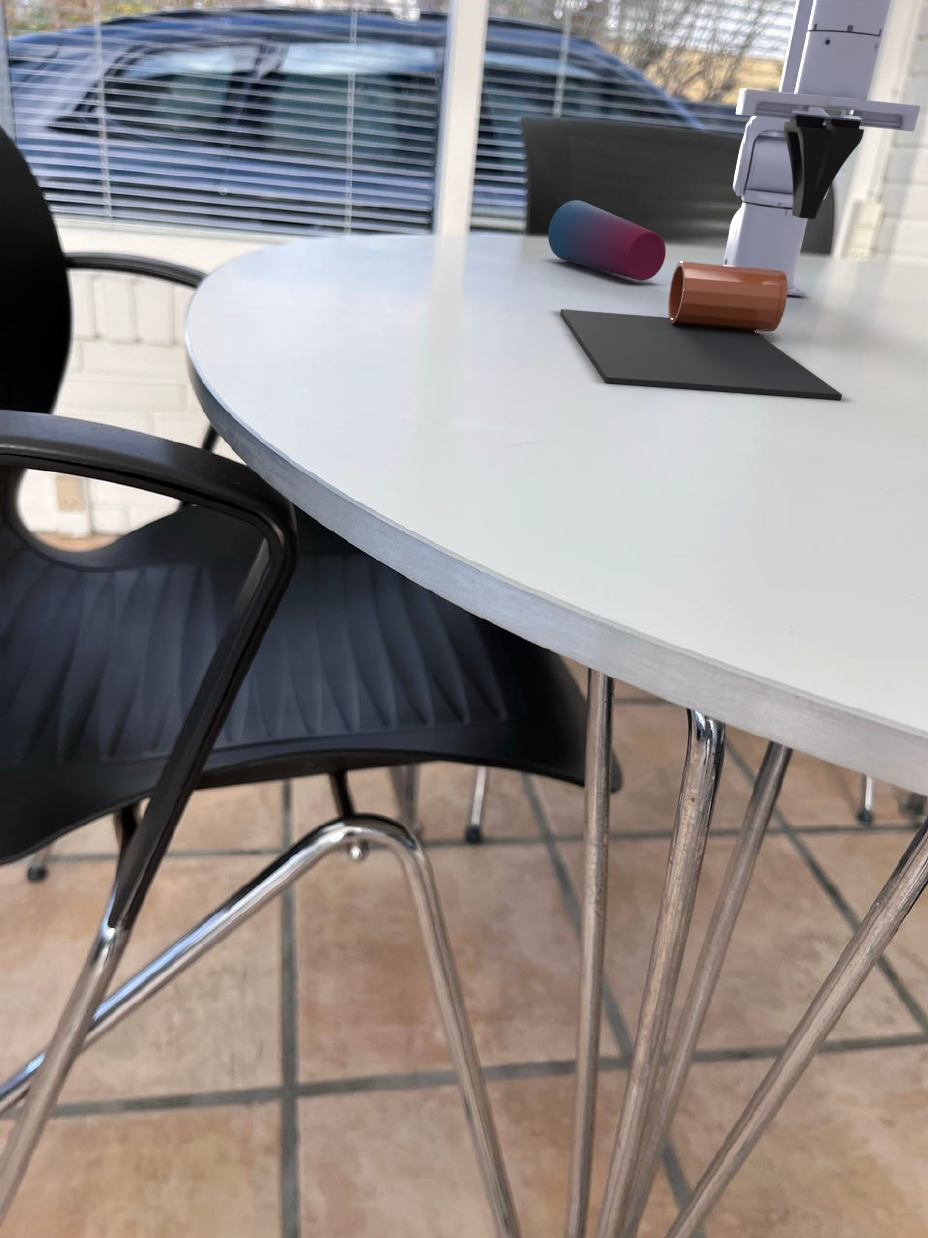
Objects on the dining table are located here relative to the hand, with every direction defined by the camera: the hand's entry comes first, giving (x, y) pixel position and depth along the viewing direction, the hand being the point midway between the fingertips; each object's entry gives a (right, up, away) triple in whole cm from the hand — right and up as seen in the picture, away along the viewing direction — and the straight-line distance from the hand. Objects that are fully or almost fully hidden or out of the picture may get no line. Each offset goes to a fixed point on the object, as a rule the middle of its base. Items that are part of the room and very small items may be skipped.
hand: (803, 217), depth 87 cm
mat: (-11, -13, -5) cm, 18 cm away
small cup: (-2, -6, +3) cm, 7 cm away
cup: (-9, +4, +22) cm, 24 cm away
